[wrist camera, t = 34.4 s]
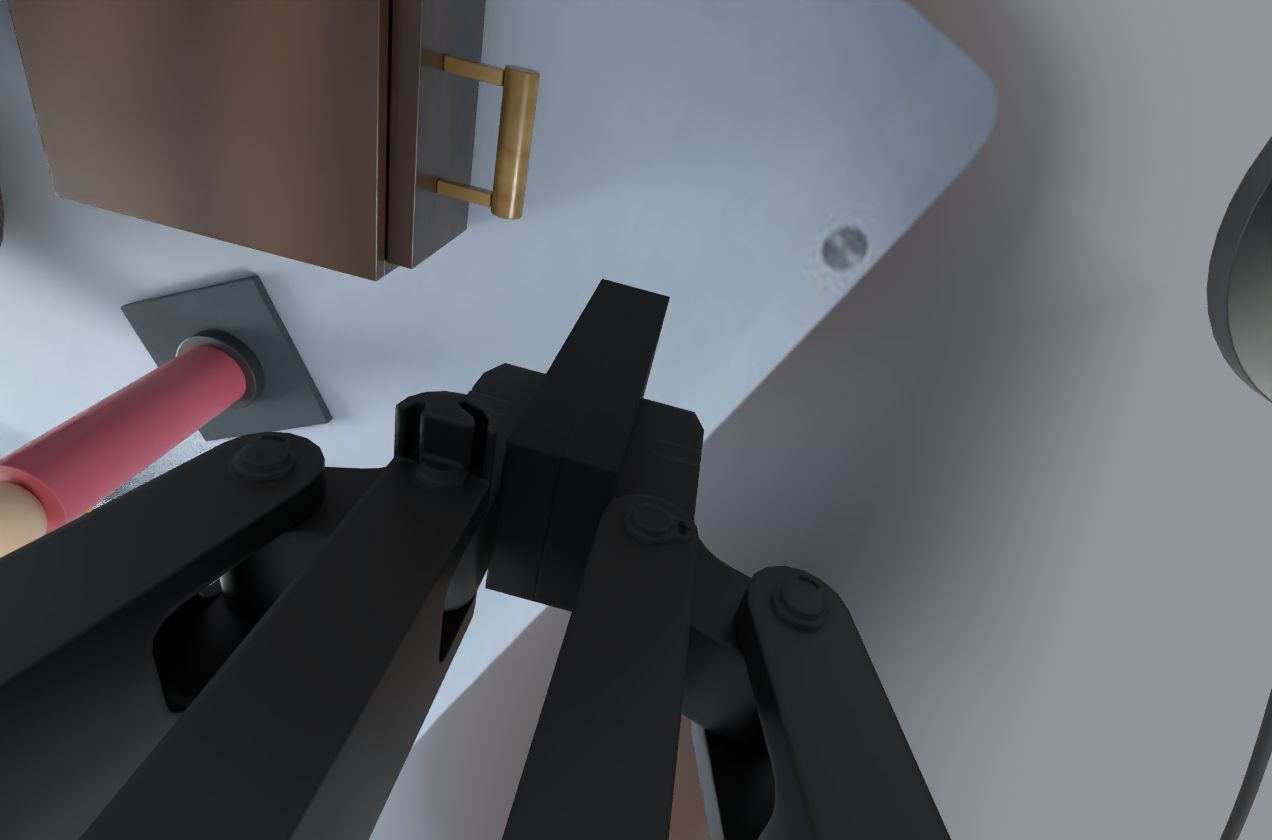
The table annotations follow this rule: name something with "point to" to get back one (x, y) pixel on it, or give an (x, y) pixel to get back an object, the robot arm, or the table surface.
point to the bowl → (1, 219)
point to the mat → (257, 326)
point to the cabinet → (220, 118)
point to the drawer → (446, 126)
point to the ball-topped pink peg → (122, 436)
